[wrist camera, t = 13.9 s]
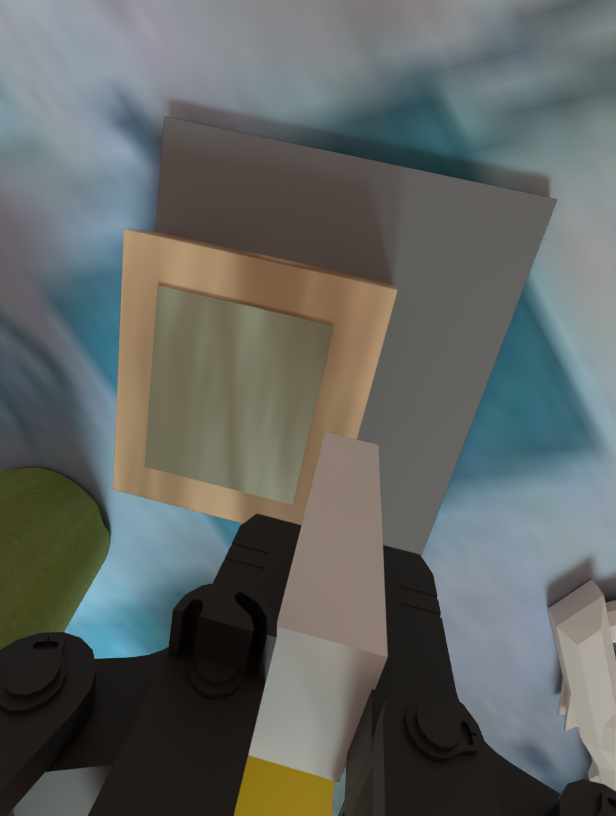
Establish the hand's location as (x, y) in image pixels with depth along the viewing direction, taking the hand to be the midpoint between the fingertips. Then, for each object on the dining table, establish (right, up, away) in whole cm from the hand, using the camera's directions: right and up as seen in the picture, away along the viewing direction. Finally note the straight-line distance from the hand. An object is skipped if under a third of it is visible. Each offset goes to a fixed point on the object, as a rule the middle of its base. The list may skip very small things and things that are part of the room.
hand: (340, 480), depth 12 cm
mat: (-1, +4, +6) cm, 7 cm away
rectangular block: (+1, +2, +4) cm, 5 cm away
